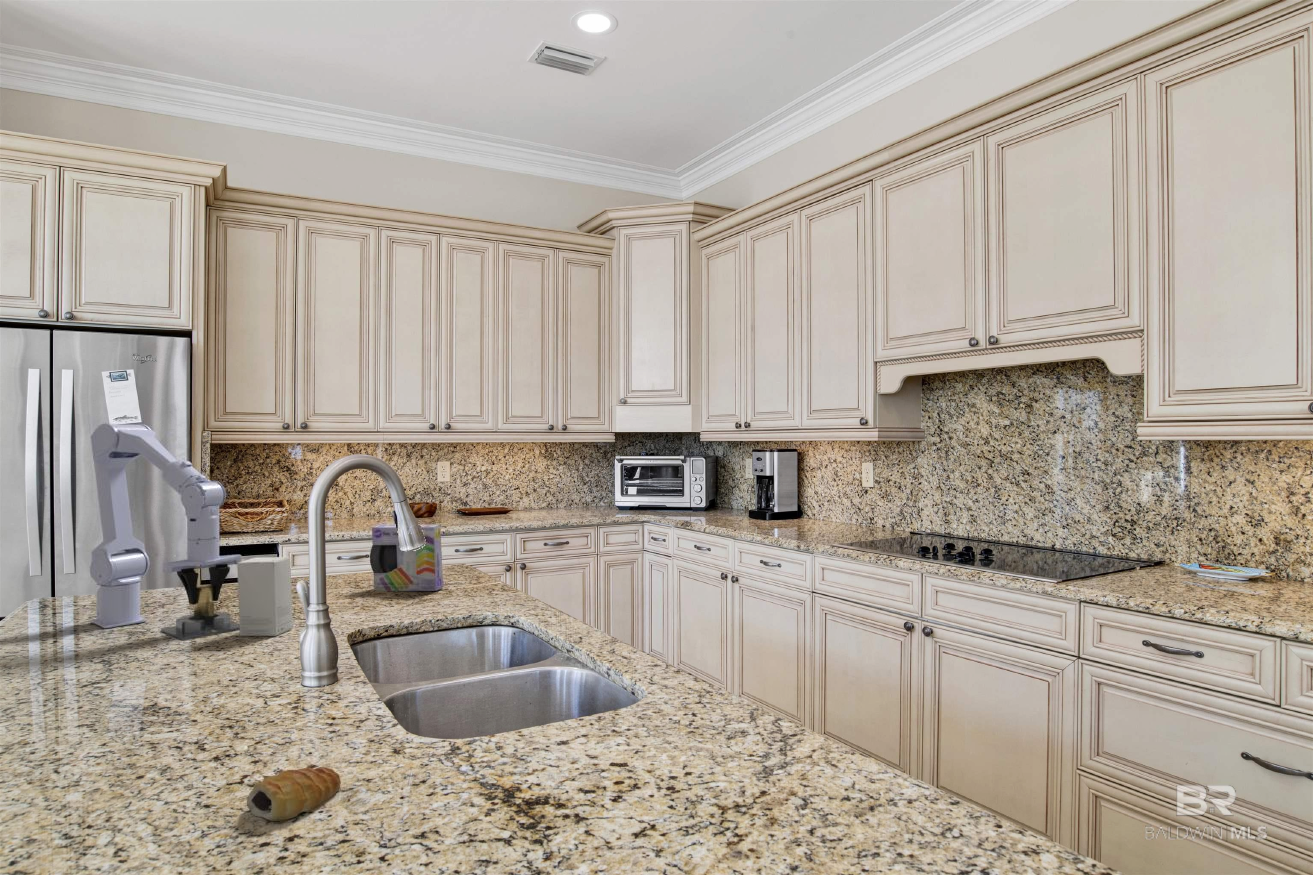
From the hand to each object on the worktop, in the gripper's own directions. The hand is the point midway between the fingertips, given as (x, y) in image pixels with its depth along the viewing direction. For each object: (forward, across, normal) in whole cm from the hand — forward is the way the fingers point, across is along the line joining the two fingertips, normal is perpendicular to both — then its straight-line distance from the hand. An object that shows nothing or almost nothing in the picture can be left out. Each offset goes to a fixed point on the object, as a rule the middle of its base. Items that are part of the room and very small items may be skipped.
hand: (203, 602), depth 158 cm
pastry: (+6, -24, -91) cm, 94 cm away
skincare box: (+6, +7, -13) cm, 16 cm away
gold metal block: (+3, 0, 0) cm, 3 cm away
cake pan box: (+6, +51, +3) cm, 51 cm away
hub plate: (+6, 0, 0) cm, 6 cm away
